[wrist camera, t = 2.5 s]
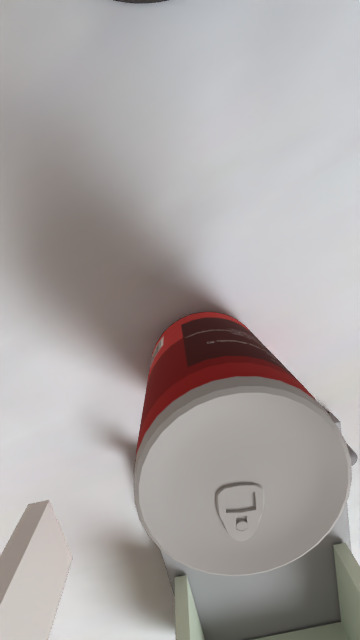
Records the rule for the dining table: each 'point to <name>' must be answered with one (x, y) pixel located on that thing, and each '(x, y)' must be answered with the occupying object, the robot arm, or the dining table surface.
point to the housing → (346, 636)
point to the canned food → (234, 453)
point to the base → (270, 591)
